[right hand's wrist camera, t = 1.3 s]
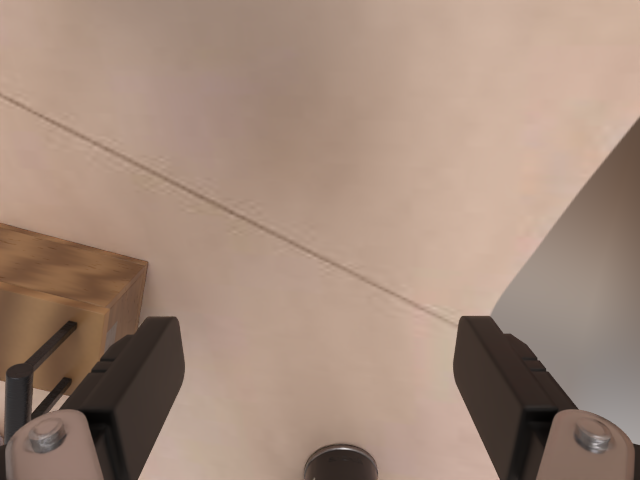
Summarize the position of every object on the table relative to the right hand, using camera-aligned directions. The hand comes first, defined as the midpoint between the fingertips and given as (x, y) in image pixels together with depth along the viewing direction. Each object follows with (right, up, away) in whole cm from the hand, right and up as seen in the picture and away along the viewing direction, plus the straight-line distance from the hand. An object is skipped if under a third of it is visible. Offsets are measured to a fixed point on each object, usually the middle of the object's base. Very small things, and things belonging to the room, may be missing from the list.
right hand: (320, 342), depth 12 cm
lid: (-26, -5, +23) cm, 35 cm away
